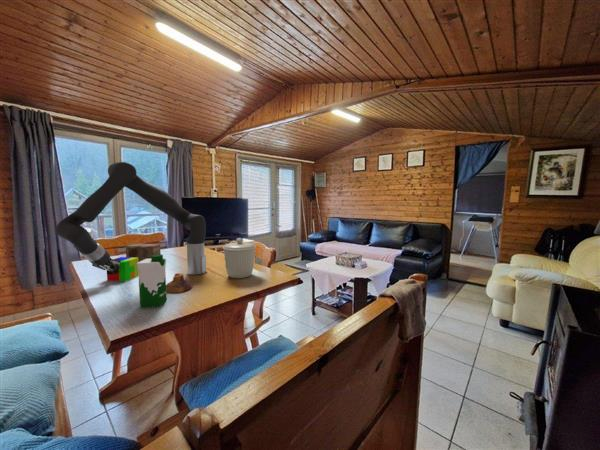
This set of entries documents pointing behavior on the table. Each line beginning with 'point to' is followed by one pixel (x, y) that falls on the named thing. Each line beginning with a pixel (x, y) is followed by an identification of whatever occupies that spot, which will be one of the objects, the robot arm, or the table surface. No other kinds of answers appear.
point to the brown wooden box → (142, 251)
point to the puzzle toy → (124, 269)
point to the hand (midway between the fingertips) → (116, 272)
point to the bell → (178, 284)
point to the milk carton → (152, 281)
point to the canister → (239, 258)
